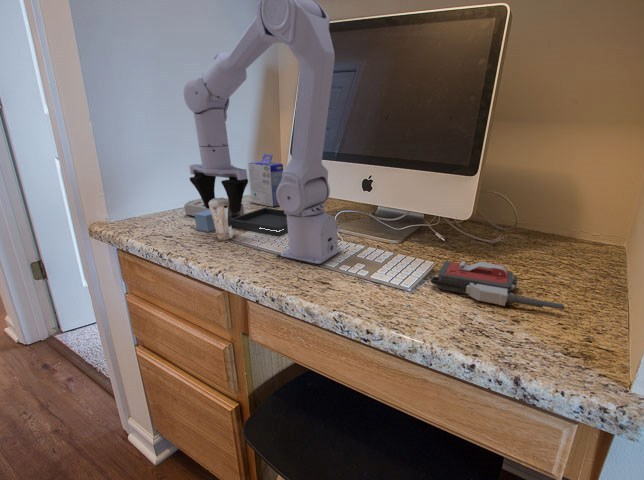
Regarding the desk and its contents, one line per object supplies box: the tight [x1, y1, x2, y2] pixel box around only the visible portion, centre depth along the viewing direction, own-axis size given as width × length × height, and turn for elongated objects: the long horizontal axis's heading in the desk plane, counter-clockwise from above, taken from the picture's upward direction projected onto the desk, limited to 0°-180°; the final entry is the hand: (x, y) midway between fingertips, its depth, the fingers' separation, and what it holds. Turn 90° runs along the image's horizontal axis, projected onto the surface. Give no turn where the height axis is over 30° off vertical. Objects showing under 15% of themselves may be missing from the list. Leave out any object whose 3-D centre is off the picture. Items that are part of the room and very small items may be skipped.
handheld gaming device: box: [183, 197, 245, 217], centre depth 101 cm, size 9×15×4 cm, turn 57°
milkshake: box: [209, 197, 234, 241], centre depth 83 cm, size 4×5×10 cm
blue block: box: [193, 210, 216, 233], centre depth 90 cm, size 4×4×4 cm
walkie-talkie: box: [430, 260, 566, 310], centre depth 60 cm, size 9×4×20 cm
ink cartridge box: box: [247, 153, 284, 208], centre depth 112 cm, size 10×6×14 cm, turn 57°
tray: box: [231, 207, 288, 237], centre depth 95 cm, size 15×13×2 cm
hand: (223, 209), depth 83 cm, fingers open, 7 cm apart
